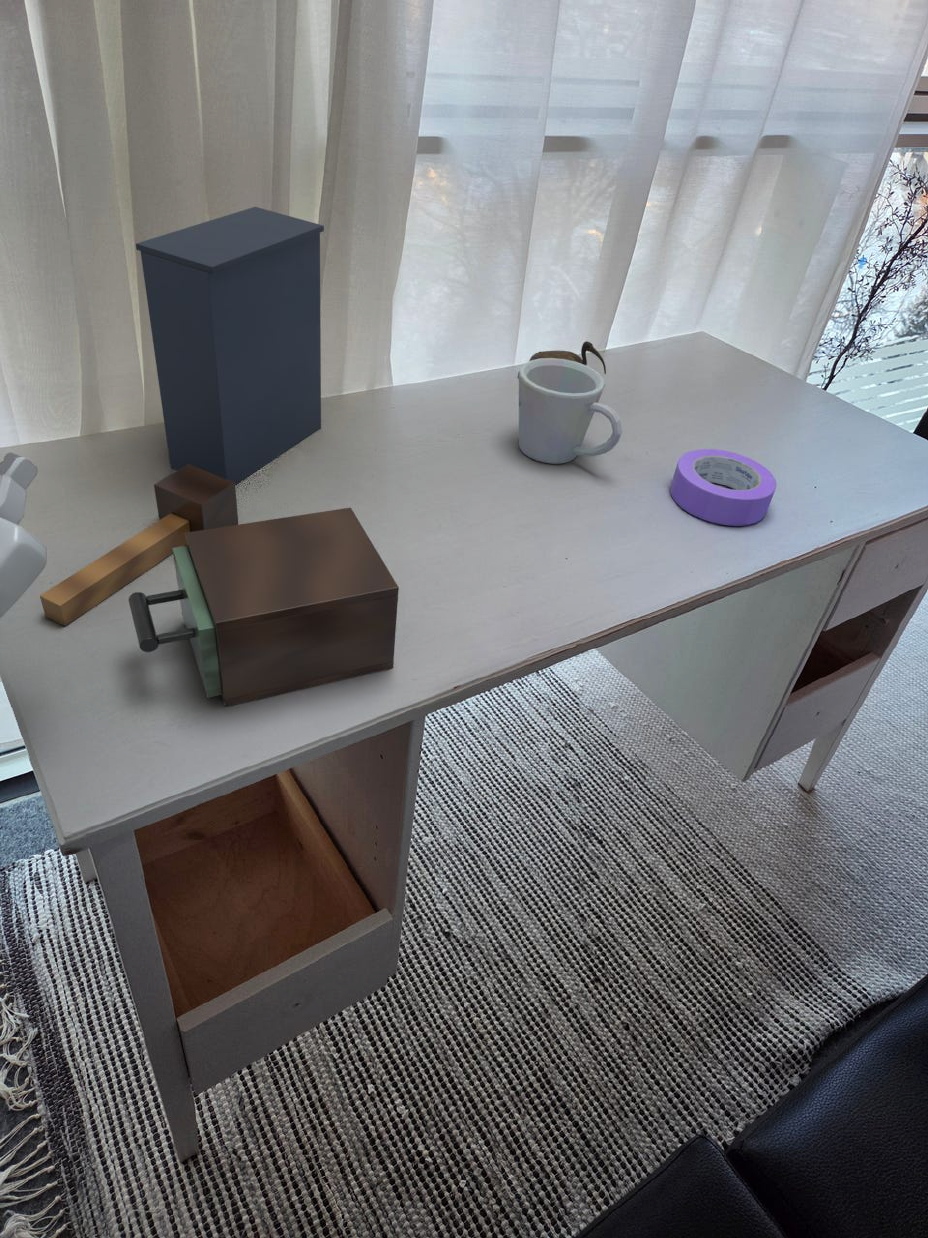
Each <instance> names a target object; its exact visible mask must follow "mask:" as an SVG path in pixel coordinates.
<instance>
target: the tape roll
mask: <svg viewBox="0 0 928 1238" xmlns="http://www.w3.org/2000/svg"><path fill="white" fill-rule="evenodd" d="M716 484H718V485H716ZM719 485H722V486H719ZM724 486H725V487H724ZM726 487H728V488H726ZM776 489H777V480H776V478H775V476H774V475H773V473H772V472H771V471H770V470H769V469H768V468H767V467H765V465H763V464H761V463H760V462H758V461H756V460H754V459H752V458H749V457H748V456H745V455H742V454H739V453H736V452H732V451H728V450H724V449H715V448H714V449H713V448H700V449H694V450H689V451H687V452H685V453H683V454H682V455H681V456H680V457H679V458H678V461H677V463H676V467H675V470H674V474H673V478H672V480H671V483H670V487H669V492H670V496H671V498H672V500H673V501H674V502H675V503H676V504H677V505H678V506H679V507H680V508H681V509H682V510H683V511H685V512H687V513H689V514H690V515H692V516H694V517H696V518H698V519H701V520H704V521H706V522H708V523H713V524H718V525H723V526H728V527H729V526H732V527H744V526H749V525H754V524H756V523H758V522H760V521H762V520H763V519H764V518H765V516H766V515H767V512H768V510H769V507H770V504H771V502H772V499H773V496H774V494H775V492H776Z"/></svg>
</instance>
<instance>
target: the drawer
mask: <svg viewBox="0 0 928 1238" xmlns="http://www.w3.org/2000/svg"><path fill="white" fill-rule="evenodd" d="M172 549H173V553H172V556H173V563H174V569H175V575H176V582H177V589H178V590H172V591H171V590H170V591H167V592H161V593H155V594H150V595H149V594H148V595H146V594H145V593H144V592H139V591H136V592H133V593H132V594H130V595H129V596H128V604H129V608H130V612H131V617H132V620H133V624H134V630H135V633H136V638H137V642H138V647H139V649H140V650H141V651H142V652H145V653H152V652H155V651H156V650H157V649H158V647H159V645H163V644H169V643H174V642H179V641H185V640H189V641H190V644H191V648H192V652H193V654H194V657H195V662H196V665H197V667H198V671H199V674H200V677H201V681H202V685H203V688H204V692H205V694H206V697H207V698H212V697H216V696H221V694H222V686H221V677H220V668H219V660H218V651H217V643H216V634H215V627H214V624H213V621H212V618H211V615H210V612H209V609H208V606H207V603H206V600H205V597H204V594H203V591H202V588H201V585H200V582H199V579H198V576H197V574H196V571H195V568H194V565H193V562H192V559H191V556H190V553H189V550H188V547H187V546H186V545H184V546H181V547H175V548H172ZM177 601H179V603H180V609H181V615H182V618H183V619H182V620H183V621H184V625H185V629H180V630H179V629H178V630H174V631H170V632H169V631H168V632H164V633H159V634H157V632H156V627H155V625H154V620H153V617H152V613H151V609H150V606H153V605H154V606H155V605H159V604H165V603H170V602H177Z"/></svg>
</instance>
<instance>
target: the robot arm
mask: <svg viewBox="0 0 928 1238" xmlns="http://www.w3.org/2000/svg"><path fill="white" fill-rule="evenodd" d="M38 468H39V467H38V466H37V465H35V463H33V462H32V461H31V460H30V459H29V458H27V457H26V456H25V457H24V456H22V455H19V454H17V453H14V452H8V453H6V454H5V456H4V457H3V460H1V461H0V476H1V477H0V619H2V618H3V617H4V615H5V614H6V613H8V611H10V609H11V608H13V606H14V605H15V604H16V603H17V602H18V601H19V600H20V599H21V597H22V596H23V595H24V594H25V593H26V592H27V591H28V589H29V588H30V587H31V586H32V585H33V584H34V582H35V581H36V580H37V579H38V578H39V577H40V575H41V574H42V572H43V571H44V570H45V568H46V566H47V562H48V548H47V546H46V545H45V544H44V543H43V542H42V541H41V540H39V538H37V537H36V536H34V535H33V534H32V533H30V532H29V531H28V530H26V529H25V528H24V527H22V526H20V525H19V524H20V523H21V521H23V519H24V517H25V511H26V502H27V492H28V491H27V489H28V488H29V487H30V485H31V484H32V482H34V480H35V478H36V477H37V475H38V474H39V469H38Z"/></svg>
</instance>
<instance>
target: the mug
mask: <svg viewBox="0 0 928 1238" xmlns="http://www.w3.org/2000/svg"><path fill="white" fill-rule="evenodd" d="M518 372H519V377H518V446H519V449H520V451H521V452H522V453H523V454H524V455H526V457H528V458H529V459H533V460H535V461H537V462H540V463H545V464H552V465H553V464H554V465H558V464H566V463H569V462H571V461H573V460H574V459H576V457H577V456H578V455H579V456H585V457H594V456H595V457H596V456H600V455H603V454H607V453H608V452H610V451H612V450H613V449H614V448H615V447H616V445H617V444H618V443H619V441H620V439H621V437H622V434H623V429H622V421H621V418H620V416H619V415H618V413H617V412H616V411H615V410H614V409H613V408H611V406H608V405H607V404H605V403H600V402H599V401H600V400H601V397H602V394H603V392H604V390H605V386H606V383H605V379H604V377H603V376H602V375H601V374H600V373H599V372H598V371H597V370H596V369H593V368H592V367H591V366H588V365H587V366H586V365H583V364H581V363H578V362H574V361H570V360H565V359H557V358H542V359H536V360H531V361H529V360H528V361H527V362H525V363H523V364H522V365H521V366H520V368H519V370H518ZM595 413H599V414H602V415H603V416H605V417H606V418H607V419H608V421H609V422H610V425H611V430H612V432H611V435H610V437H609V438H608V439H607V441H605V442H603V443H602V444H599V445H595V446H582V444H583V442H584V440H585V437H586V434H587V432H588V429H589V426H590V424H591V421H592V419H593V416H594V415H595Z"/></svg>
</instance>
